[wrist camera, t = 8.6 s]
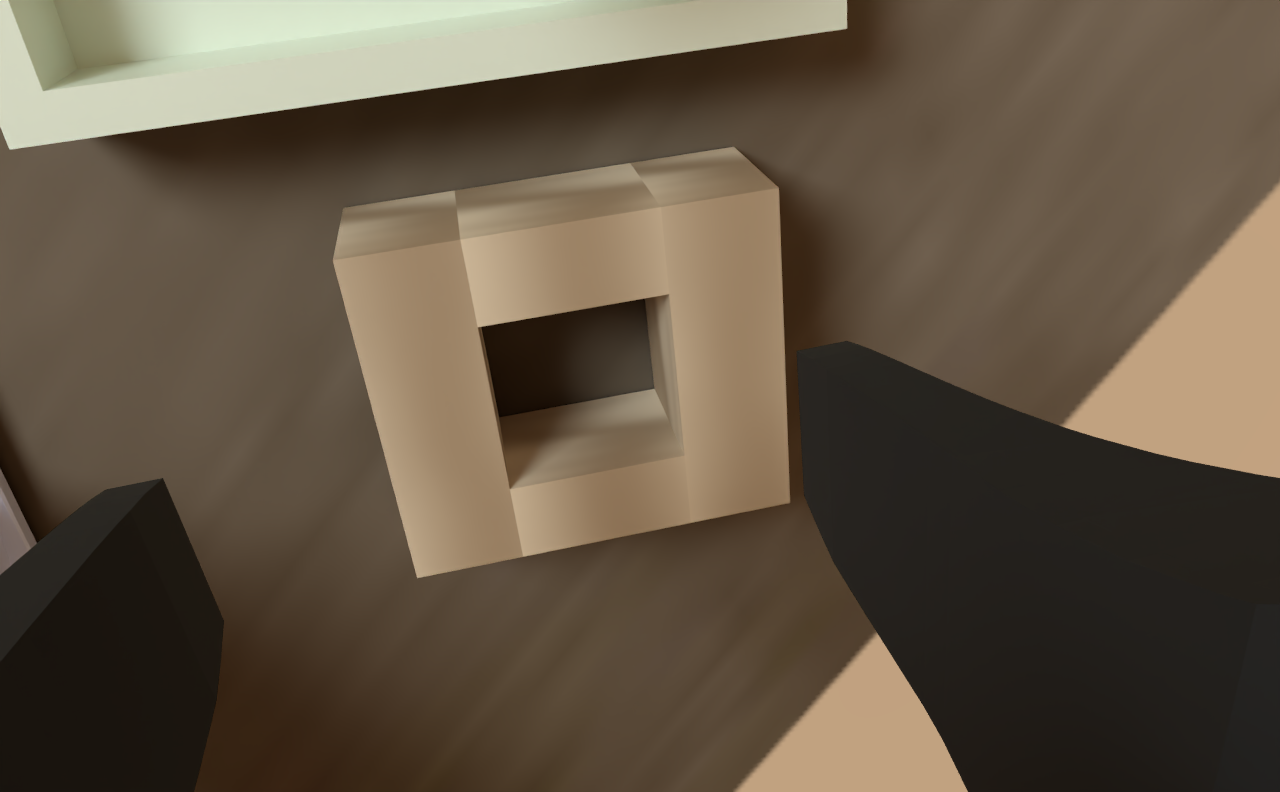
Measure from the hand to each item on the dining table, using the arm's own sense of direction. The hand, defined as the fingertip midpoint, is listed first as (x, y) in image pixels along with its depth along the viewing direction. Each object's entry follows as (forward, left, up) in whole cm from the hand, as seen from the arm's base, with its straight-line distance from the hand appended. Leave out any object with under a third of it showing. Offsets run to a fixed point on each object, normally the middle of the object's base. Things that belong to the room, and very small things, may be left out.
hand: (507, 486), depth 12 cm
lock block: (+2, -3, -10) cm, 11 cm away
